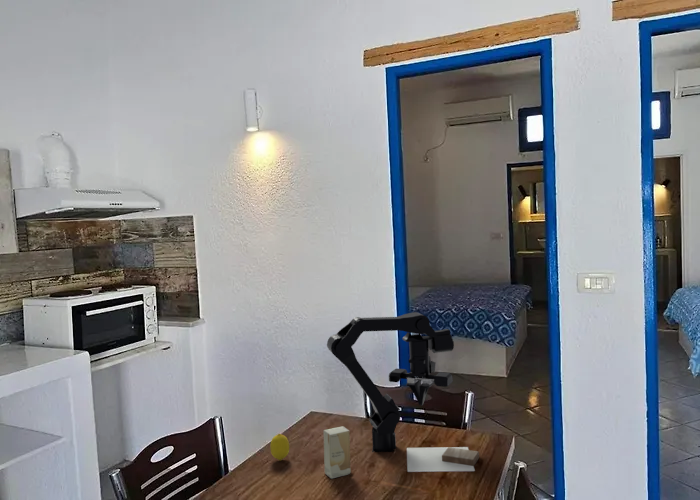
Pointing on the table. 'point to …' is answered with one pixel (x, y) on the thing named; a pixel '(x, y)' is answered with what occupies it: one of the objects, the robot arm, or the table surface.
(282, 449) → the lemon
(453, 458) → the tile
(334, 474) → the skincare box
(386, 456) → the table surface
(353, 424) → the table surface
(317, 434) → the table surface
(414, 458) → the mat
